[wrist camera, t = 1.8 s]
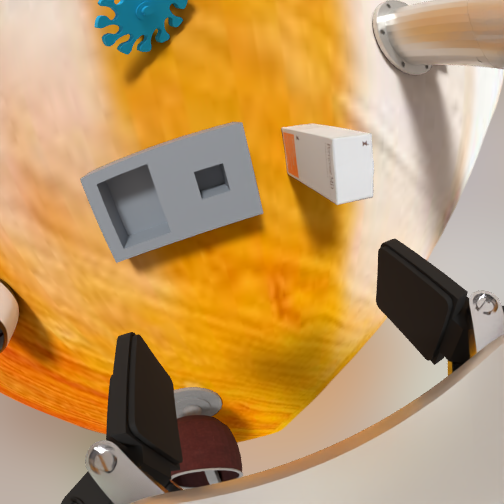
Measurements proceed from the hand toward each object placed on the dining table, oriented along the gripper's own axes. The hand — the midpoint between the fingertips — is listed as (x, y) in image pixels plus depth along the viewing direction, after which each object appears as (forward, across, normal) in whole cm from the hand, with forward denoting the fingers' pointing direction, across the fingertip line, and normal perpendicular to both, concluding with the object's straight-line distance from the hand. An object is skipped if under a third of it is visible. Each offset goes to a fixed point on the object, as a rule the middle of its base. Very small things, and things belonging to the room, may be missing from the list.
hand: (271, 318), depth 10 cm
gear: (+25, +1, -20) cm, 32 cm away
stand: (+24, +4, 0) cm, 25 cm away
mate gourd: (+25, +16, +41) cm, 50 cm away
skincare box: (+25, -12, 0) cm, 27 cm away
